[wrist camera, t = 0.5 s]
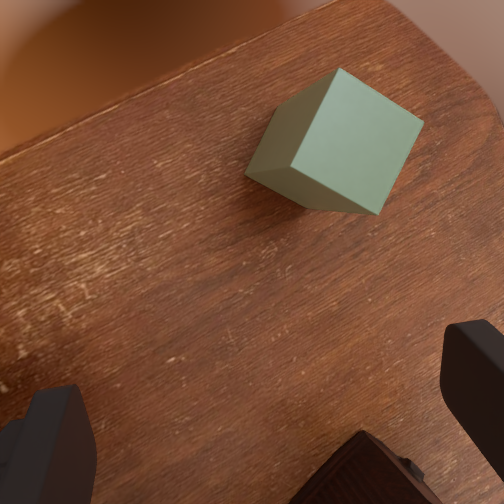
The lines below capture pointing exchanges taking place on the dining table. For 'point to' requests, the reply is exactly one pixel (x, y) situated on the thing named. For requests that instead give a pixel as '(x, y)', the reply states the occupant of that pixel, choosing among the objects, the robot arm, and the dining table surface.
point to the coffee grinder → (366, 477)
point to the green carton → (335, 146)
